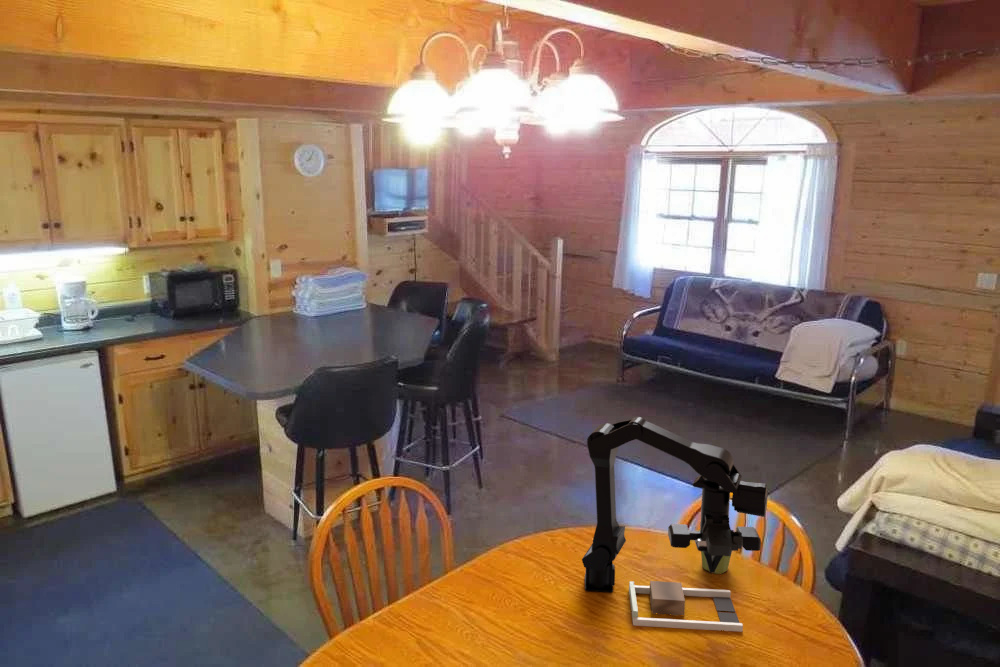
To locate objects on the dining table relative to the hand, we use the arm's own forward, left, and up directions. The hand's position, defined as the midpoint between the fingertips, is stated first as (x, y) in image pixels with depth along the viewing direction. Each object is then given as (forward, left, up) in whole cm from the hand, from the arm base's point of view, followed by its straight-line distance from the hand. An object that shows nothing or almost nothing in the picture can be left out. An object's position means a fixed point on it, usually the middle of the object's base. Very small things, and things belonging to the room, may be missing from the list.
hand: (711, 572), depth 152 cm
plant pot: (+5, +19, -10) cm, 22 cm away
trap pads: (+4, 0, -10) cm, 11 cm away
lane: (-6, 0, -10) cm, 11 cm away
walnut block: (-9, +2, -10) cm, 14 cm away
